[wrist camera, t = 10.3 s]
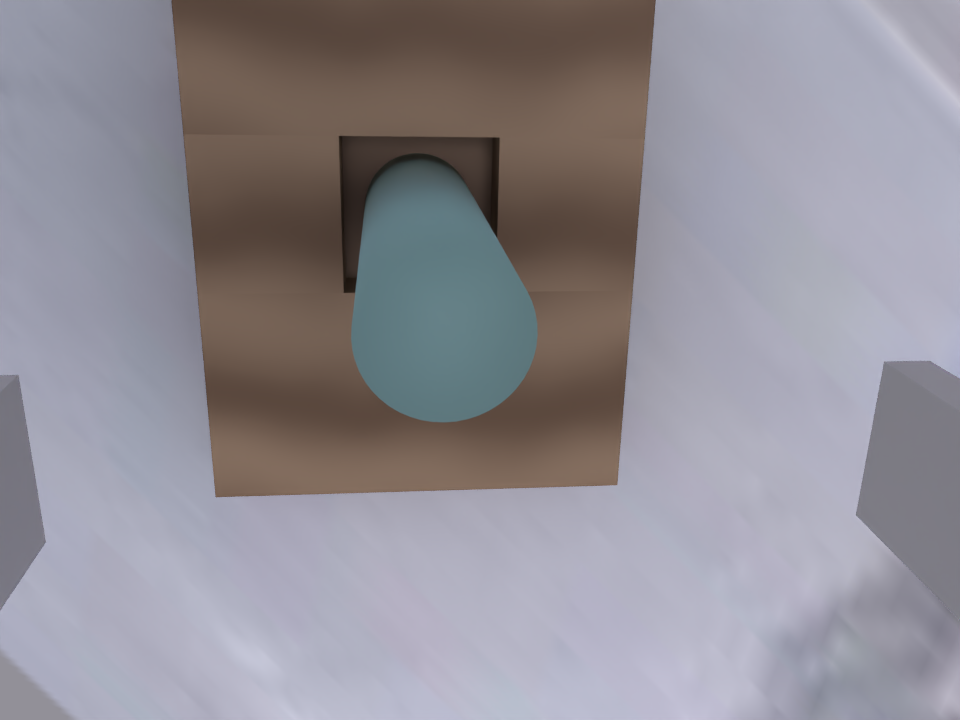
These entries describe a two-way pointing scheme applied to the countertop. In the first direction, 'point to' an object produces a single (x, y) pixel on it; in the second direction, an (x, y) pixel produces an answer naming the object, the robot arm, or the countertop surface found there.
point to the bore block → (340, 211)
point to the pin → (436, 297)
